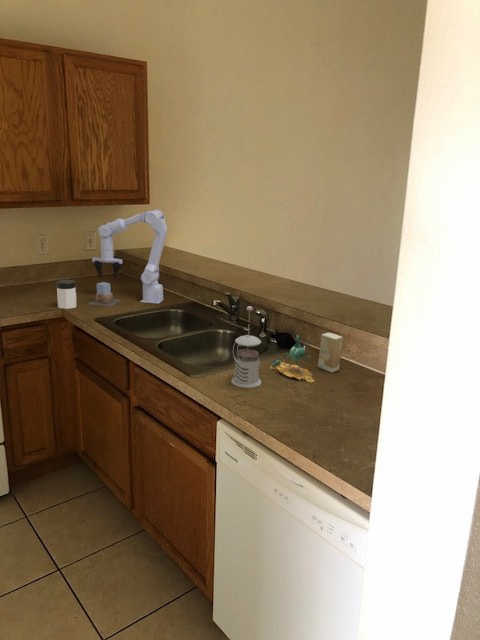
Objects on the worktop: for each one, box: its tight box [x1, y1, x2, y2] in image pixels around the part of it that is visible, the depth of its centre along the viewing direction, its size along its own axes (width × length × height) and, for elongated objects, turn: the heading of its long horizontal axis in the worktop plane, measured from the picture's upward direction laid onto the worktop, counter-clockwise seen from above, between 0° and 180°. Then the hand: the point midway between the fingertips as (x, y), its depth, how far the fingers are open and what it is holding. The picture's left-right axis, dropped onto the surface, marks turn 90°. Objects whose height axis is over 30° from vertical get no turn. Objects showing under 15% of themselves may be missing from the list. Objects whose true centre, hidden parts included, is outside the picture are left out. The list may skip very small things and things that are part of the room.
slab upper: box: [95, 292, 114, 300], centre depth 251 cm, size 6×6×2 cm
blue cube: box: [96, 281, 112, 295], centre depth 250 cm, size 4×4×5 cm
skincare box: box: [317, 332, 344, 373], centre depth 180 cm, size 6×4×12 cm
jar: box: [56, 279, 77, 310], centre depth 241 cm, size 9×8×12 cm
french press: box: [230, 305, 262, 389], centre depth 165 cm, size 10×12×25 cm
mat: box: [87, 298, 121, 307], centre depth 252 cm, size 12×12×1 cm
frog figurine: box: [269, 334, 315, 383], centre depth 174 cm, size 10×18×15 cm, turn 41°
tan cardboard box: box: [95, 296, 114, 304], centre depth 252 cm, size 6×6×2 cm
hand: (107, 277), depth 258 cm, fingers open, 7 cm apart
